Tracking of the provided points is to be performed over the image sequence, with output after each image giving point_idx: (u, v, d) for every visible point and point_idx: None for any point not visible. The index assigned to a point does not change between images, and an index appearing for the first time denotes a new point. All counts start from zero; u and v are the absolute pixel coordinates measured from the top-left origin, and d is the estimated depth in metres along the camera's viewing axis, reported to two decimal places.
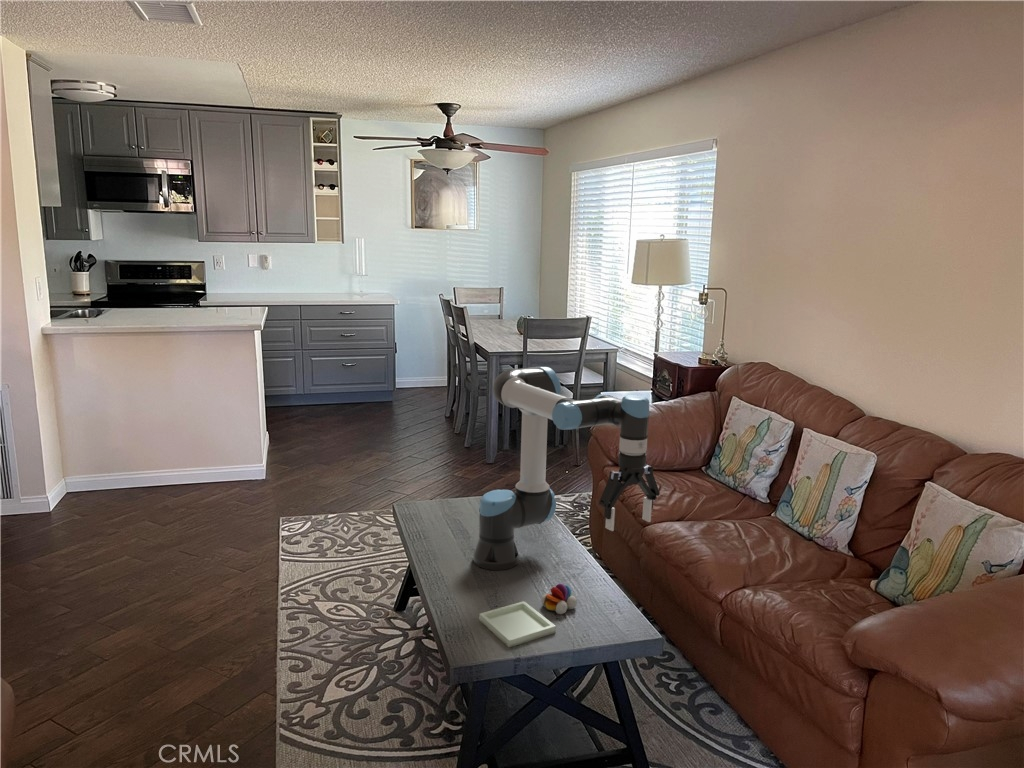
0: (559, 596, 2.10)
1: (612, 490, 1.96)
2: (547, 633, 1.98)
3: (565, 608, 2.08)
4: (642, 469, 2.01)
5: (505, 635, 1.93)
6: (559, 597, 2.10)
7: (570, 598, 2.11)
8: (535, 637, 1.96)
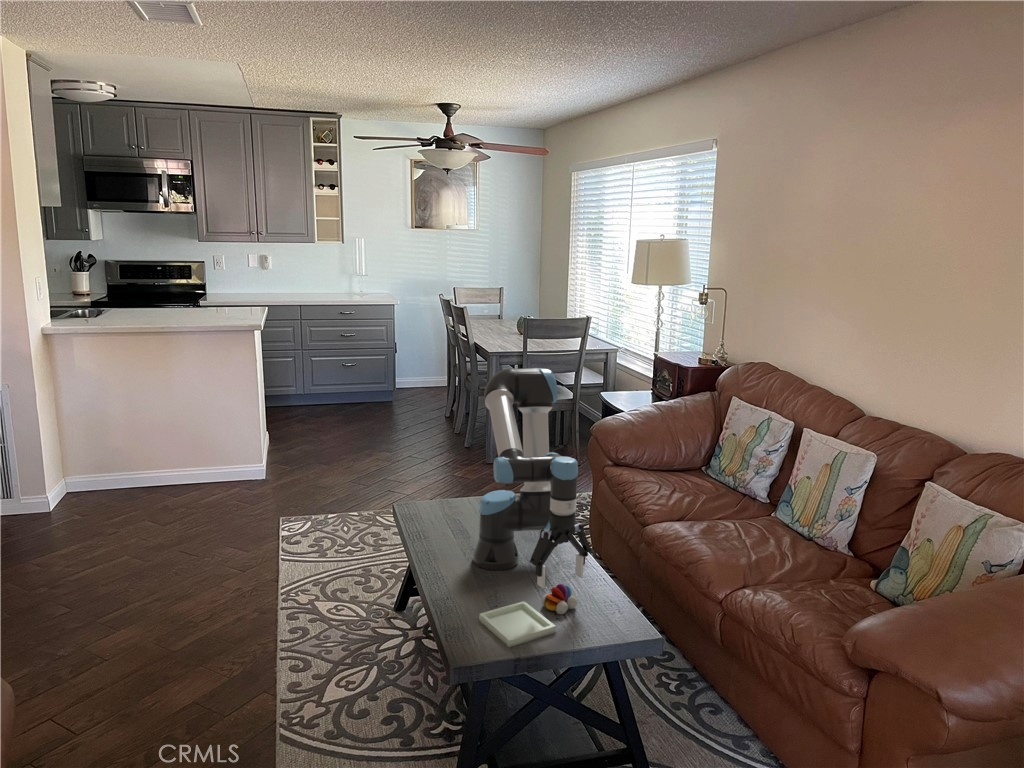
0: (559, 596, 2.10)
1: (542, 549, 2.04)
2: (547, 633, 1.98)
3: (565, 608, 2.08)
4: (572, 527, 2.09)
5: (505, 635, 1.93)
6: (559, 597, 2.10)
7: (570, 598, 2.11)
8: (535, 637, 1.96)
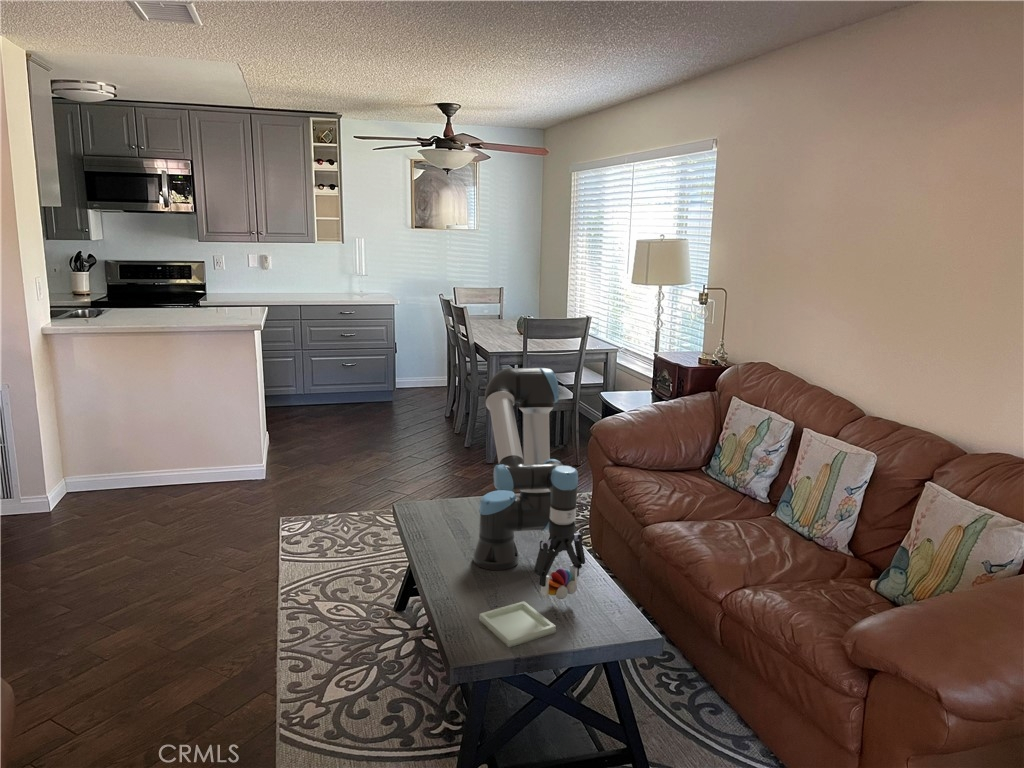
0: (559, 581, 2.10)
1: (544, 560, 2.06)
2: (547, 633, 1.98)
3: (565, 593, 2.08)
4: (572, 535, 2.10)
5: (505, 635, 1.93)
6: (559, 582, 2.10)
7: (570, 583, 2.11)
8: (535, 637, 1.96)
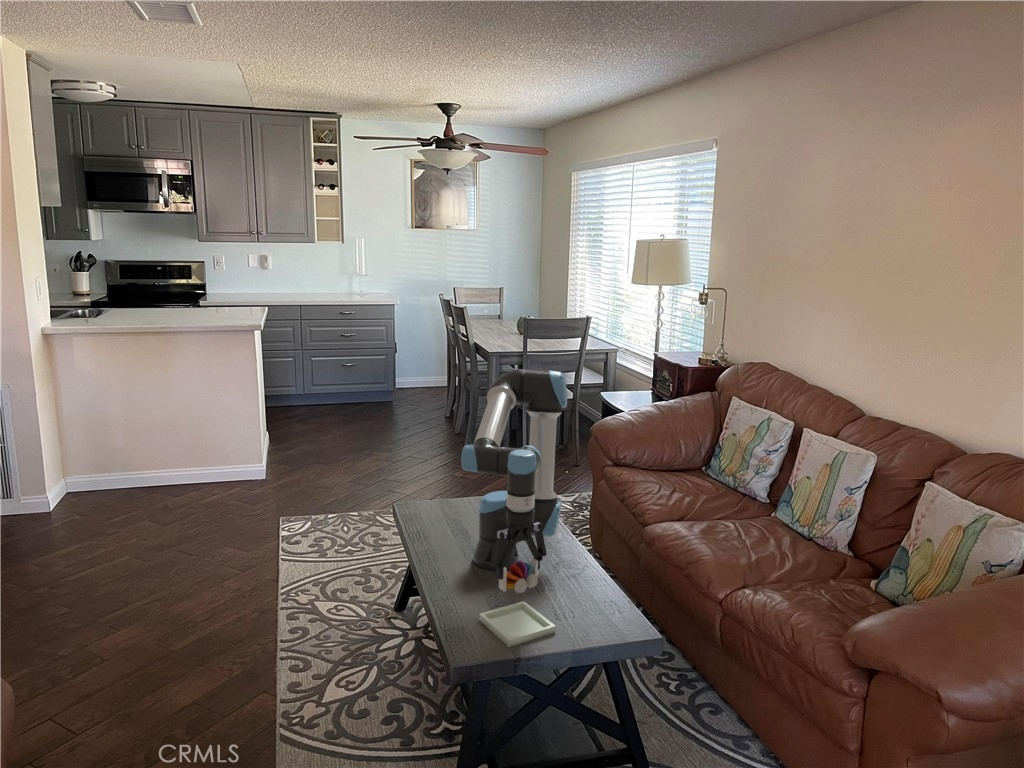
0: (518, 574, 1.96)
1: (500, 550, 1.92)
2: (547, 633, 1.98)
3: (524, 586, 1.94)
4: (531, 525, 1.97)
5: (505, 635, 1.93)
6: (518, 575, 1.97)
7: (530, 576, 1.97)
8: (535, 637, 1.96)
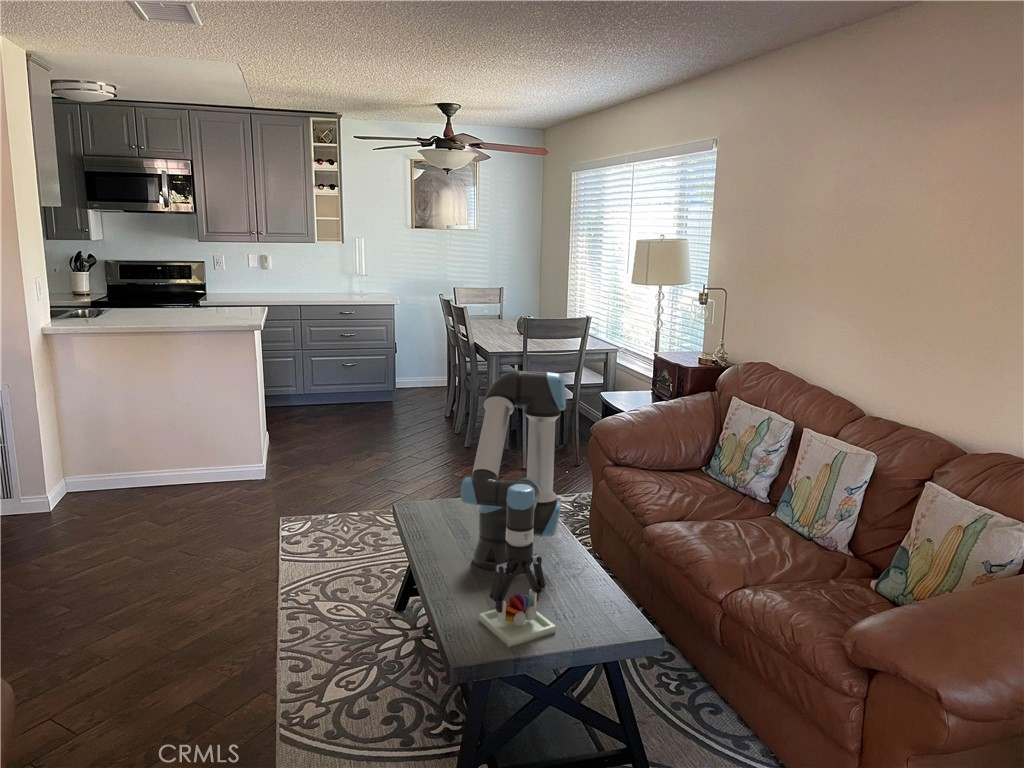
0: (517, 607, 1.98)
1: (499, 584, 1.94)
2: (547, 633, 1.98)
3: (523, 619, 1.96)
4: (530, 558, 1.99)
5: (505, 635, 1.93)
6: (517, 608, 1.98)
7: (529, 608, 1.99)
8: (535, 637, 1.96)
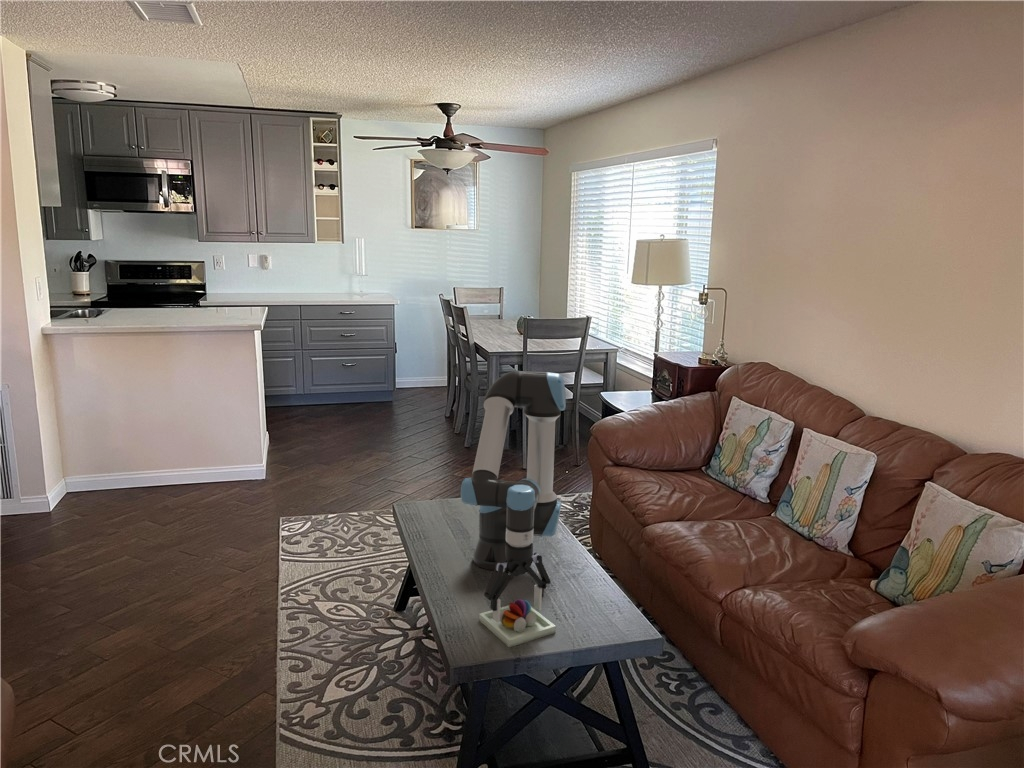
0: (517, 612, 1.99)
1: (497, 582, 1.94)
2: (547, 633, 1.98)
3: (523, 625, 1.97)
4: (530, 559, 1.99)
5: (505, 635, 1.93)
6: (517, 613, 1.99)
7: (529, 614, 2.00)
8: (535, 637, 1.96)
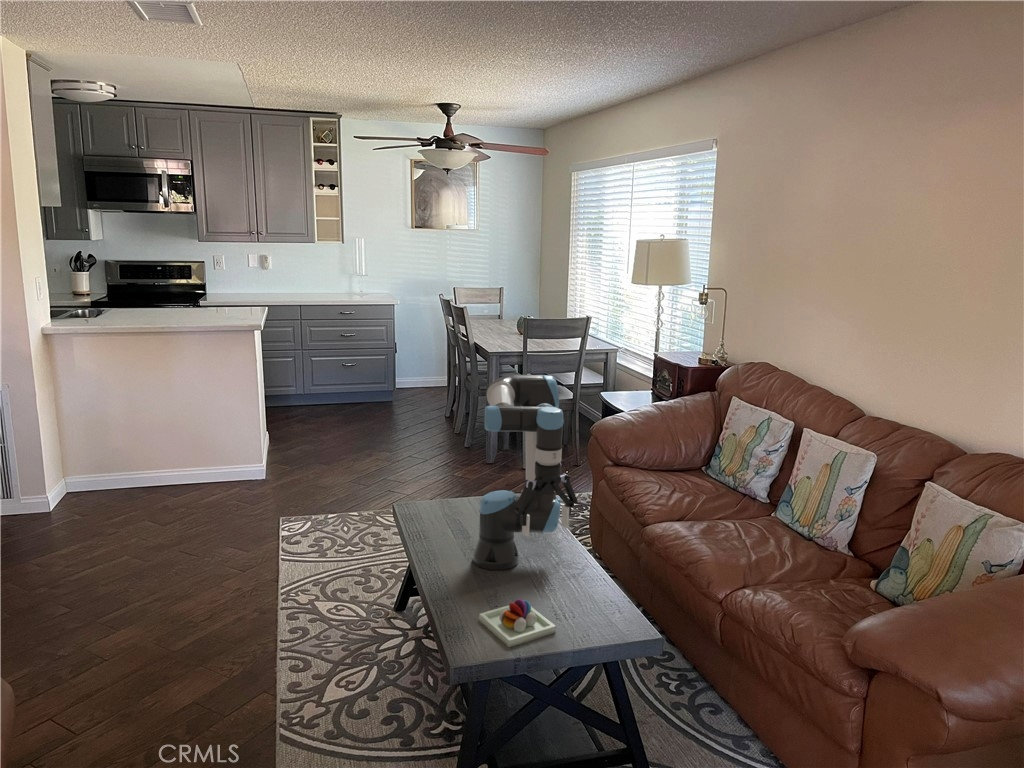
0: (517, 613, 1.99)
1: (526, 498, 2.04)
2: (547, 633, 1.98)
3: (524, 625, 1.97)
4: (558, 478, 2.08)
5: (505, 635, 1.93)
6: (518, 614, 1.99)
7: (529, 614, 2.00)
8: (535, 637, 1.96)
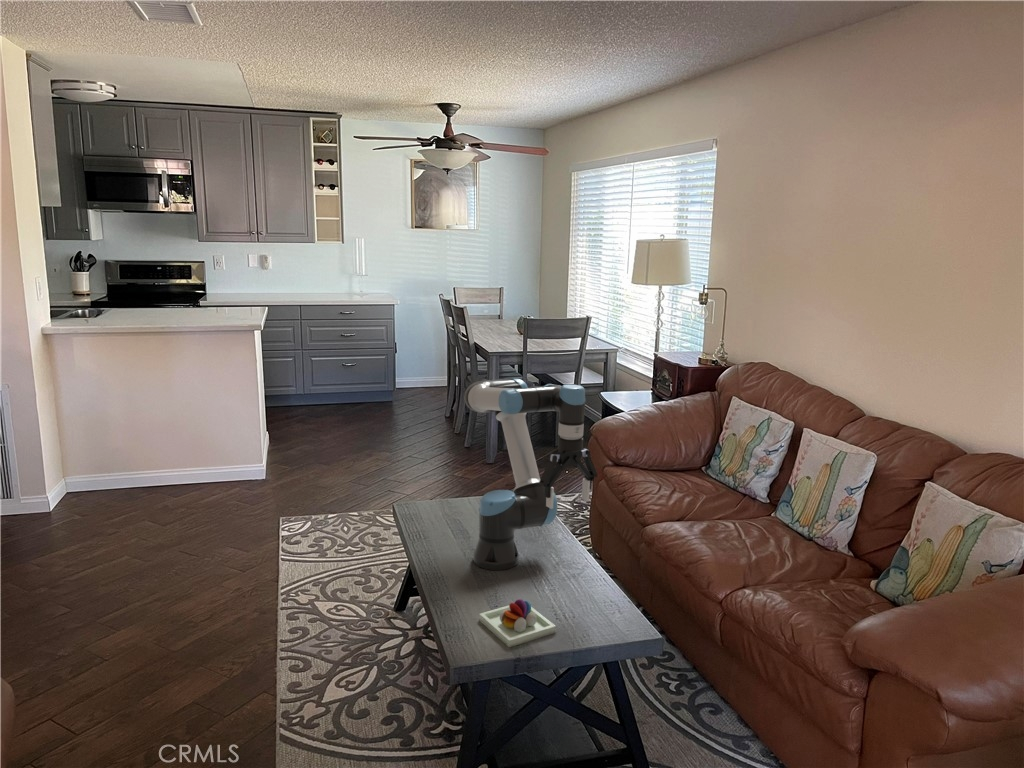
0: (518, 613, 1.99)
1: (551, 471, 2.15)
2: (547, 633, 1.98)
3: (524, 625, 1.97)
4: (580, 452, 2.20)
5: (505, 635, 1.93)
6: (518, 614, 1.99)
7: (529, 614, 2.00)
8: (535, 637, 1.96)
